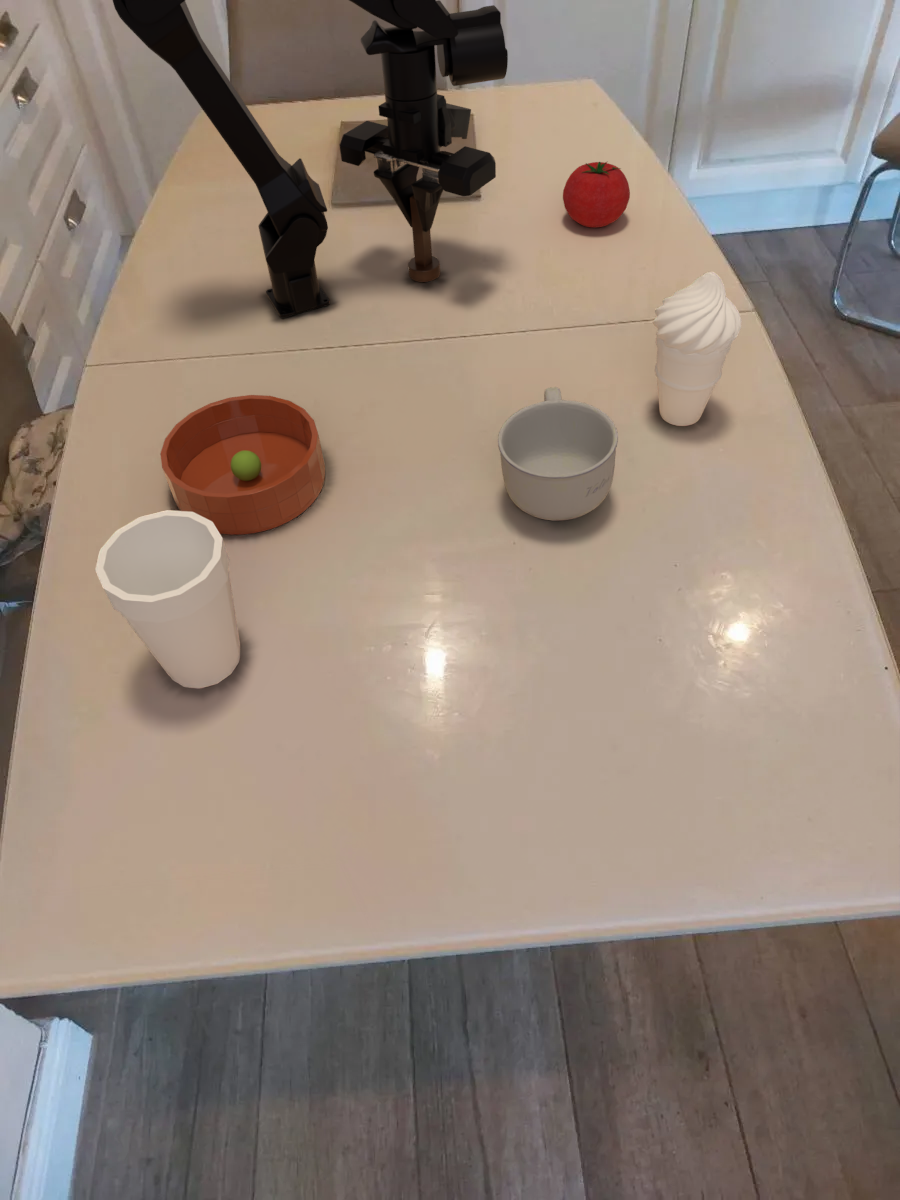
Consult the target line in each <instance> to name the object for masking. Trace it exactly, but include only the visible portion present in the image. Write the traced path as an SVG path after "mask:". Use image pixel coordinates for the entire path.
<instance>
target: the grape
mask: <svg viewBox="0 0 900 1200" xmlns="http://www.w3.org/2000/svg"><path fill="white" fill-rule="evenodd" d="M231 470H232V473H233V474H234V475H235V476H236V477H237V478H238V479H240V480H243V481H250V480H253V479H255V478H256V477H257V476H258V475H259V473H260V471H261V461H260V459H259V457H258V456H257V455H256V454H255V453H253V452H251V451H240V452H238V453H236V454H235V455H234V456H233V458H232V460H231Z"/></svg>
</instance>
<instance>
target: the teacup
mask: <svg viewBox="0 0 900 1200" xmlns="http://www.w3.org/2000/svg"><path fill="white" fill-rule="evenodd" d="M618 442H619V433H618V429H617V427H616V424H615V423H614V420H612V418H611V417H610V416H609V415H608V414H607V413H606V412H604V411H603V410H602V409H600V408H598V407H596V406H594V405H592V404H589V403H587V402H582V401H577V400H570V399H562V391H561V388H559V386H558V387H557V386H551V387H547V388H546V389H544V393H543V401H539V402H535V403H532V404H529V405H526V406H524V407H522V408H520V409H518V410H516V412H514V413H512V414H511V415H510V416H509V417H508V418H507V419H506V420H505V421H504V423H502V426H501V428H500V430H499V432H498V436H497V446H498V451H499V455H500V463H501V464H500V465H501V466H500V467H501V472H502V473H501V474H502V479H503V483H504V487H505V490H506V493H507V495H508V497H509V498H510V499H511V501H512V502H513V504H514V505H515V506H516V507H518V508H519V509H520V510H521V511H523V512H524V513H526V514H527V515H529V516H532V517H535V518H537V519H540V520H546V521H554V522H555V521H567V520H568V521H569V520H574V519H578V518H580V517H582V516H585V515H587V514H589V513H591V512H593V511H594V510H595V509H596V508H597V507H599V506H600V505H601V504H602V503H603V501H604V500H605V499H606V498H607V496H608V495H609V492H610V490H611V488H612V484H613V481H614V475H615V468H616V467H615V466H616V456H617V454H616V453H617V447H618Z"/></svg>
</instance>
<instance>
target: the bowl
mask: <svg viewBox="0 0 900 1200" xmlns="http://www.w3.org/2000/svg"><path fill="white" fill-rule="evenodd" d="M240 451H251V452H253V453H255V454H256V455H257V456H258V457H259V459H260V461H261V471H260V473H259V475H258V476H257V477H256V478H255V479H253V480H250V481H243V480H240V479H238V478H237V477H236V476H235V475H234V474H233V473H232V470H231V460H232V458H233V456H234V455H235V454H236V453H238V452H240ZM322 451H323V450H322V446H321V439H320V436H319V431H318V428H317V425H316V422H315V419H314V418H313V417H312V416H311V415H310V414H309V412H307V411H306V409H304V408H303V407H301V406H300V405H298V404H296V403H294V402H293V401H291V400H288V399H284V398H281V397H276V396H273V395H263V394H262V395H261V394H246V395H239V396H232V397H231V396H230V397H226V398H223V399H220V400H216V401H214V402H213V401H212V402H210V403H207V404H205V405H204V406H202V407H200V408H197V409H195V410H194V411H192V412H190V413H189V414H187V415H186V416H184V417H183V418H182V419H181V420H180V421H178V422H177V423H176V424H174V426H173V427H172V429H171V430H170V432H169V433H168V434H167V436H166V437H165V438H164V441H163V443H162V447H161V450H160V453H159V455H160V464H161V469H162V471H163V473H164V475H165V480H166V482H167V485H168V487H169V489H170V492H171V494H172V497H173V500H174V502H175V504H176V506H177V508H178V509H179V510H178V511H188V512H194V513H196V514H198V515H200V516H202V517H204V518H206V519H208V520H210V521H212V522H213V523H214V525H215V527H216V528H217V530H218V532H219V533H220V535H231V536H233V535H236V536H237V535H250V534H251V535H252V534H256V533H262V532H265V531H269V530H272V529H275V528H277V527H280V526H283V525H285V524H287V523H288V522H291V521H292V520H294V519H296V518H297V517H299V516H300V515H301V514H303V513H304V512H305V511H306V510H307V509H309V508H310V507H311V505H312V504H314V502H315V501H316V499H317V498H318V497H319V495H320V493H321V491H322V489H323V486H324V483H325V478H326V464H325V461H324V456H323V452H322Z"/></svg>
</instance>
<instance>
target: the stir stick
mask: <svg viewBox="0 0 900 1200" xmlns="http://www.w3.org/2000/svg"><path fill="white" fill-rule="evenodd" d="M410 208H411V220H412V227H411V231H412V232H411V233H412V243H413V253H414V254H413V255H414V257H412V258H410V259H409V260H408V262H407V269H408V277H409V278H410V279H411V280H412V281H415V282H419V283H427V282H432V281H434V280H436V279H438V278H439V277H440V275H441V263H440V259H439V258H438V257H436V256H435V255H433V249H432V235H431V234H432V233H431V229H430V230H429V231H427V232H425V231H423V228H422V225H421V222H420V218H419V214H418V210H417V205H416V201H415V197H414V195H413V196H411V197H410Z"/></svg>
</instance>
